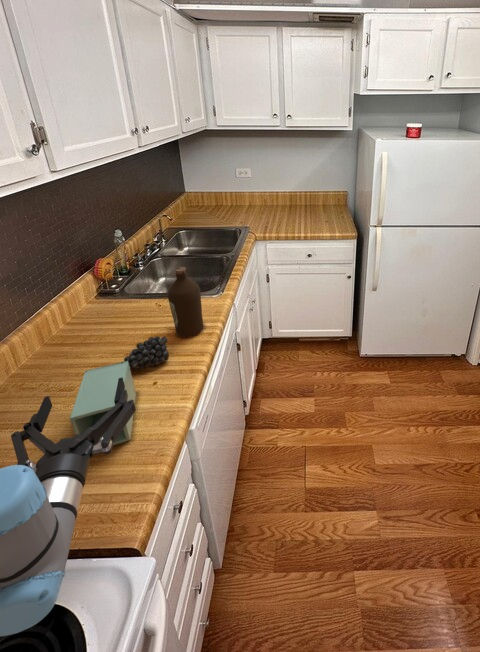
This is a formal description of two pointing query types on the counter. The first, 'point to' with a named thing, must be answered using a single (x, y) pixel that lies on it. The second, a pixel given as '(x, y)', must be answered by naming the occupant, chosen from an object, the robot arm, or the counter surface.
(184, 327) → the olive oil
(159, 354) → the fruit
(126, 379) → the open box
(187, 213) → the counter surface
